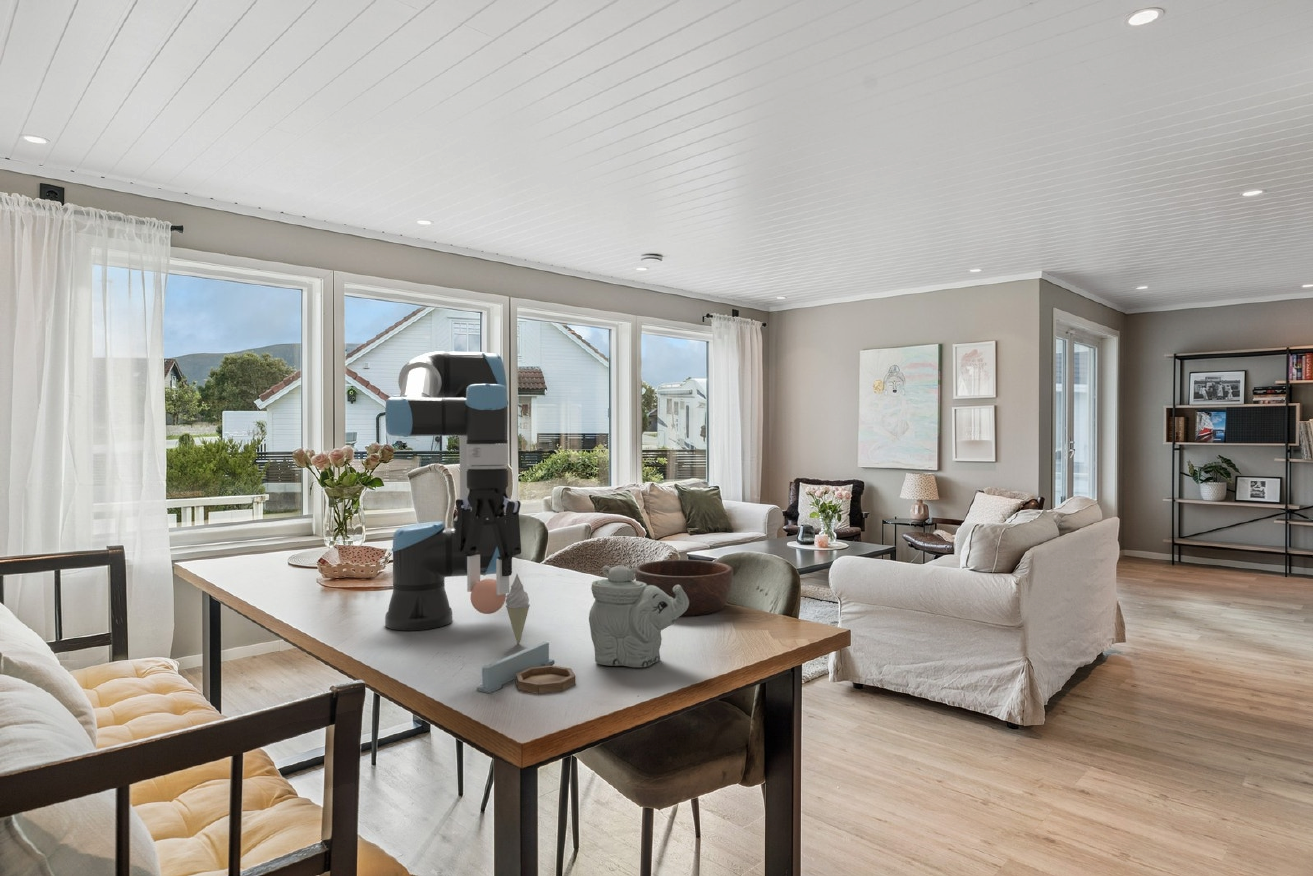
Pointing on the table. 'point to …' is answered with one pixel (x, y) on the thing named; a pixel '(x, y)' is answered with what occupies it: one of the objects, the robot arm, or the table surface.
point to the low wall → (513, 666)
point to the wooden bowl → (690, 582)
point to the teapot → (631, 618)
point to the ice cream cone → (517, 607)
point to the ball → (486, 597)
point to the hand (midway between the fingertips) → (488, 591)
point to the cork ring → (545, 679)
